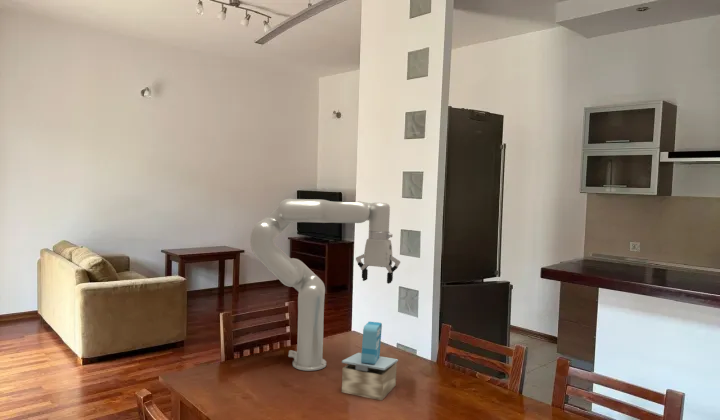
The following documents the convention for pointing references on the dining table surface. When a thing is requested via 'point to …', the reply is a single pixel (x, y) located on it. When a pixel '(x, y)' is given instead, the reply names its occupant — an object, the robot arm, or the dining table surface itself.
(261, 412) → the dining table surface
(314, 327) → the robot arm
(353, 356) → the box lid
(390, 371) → the open box
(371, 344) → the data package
